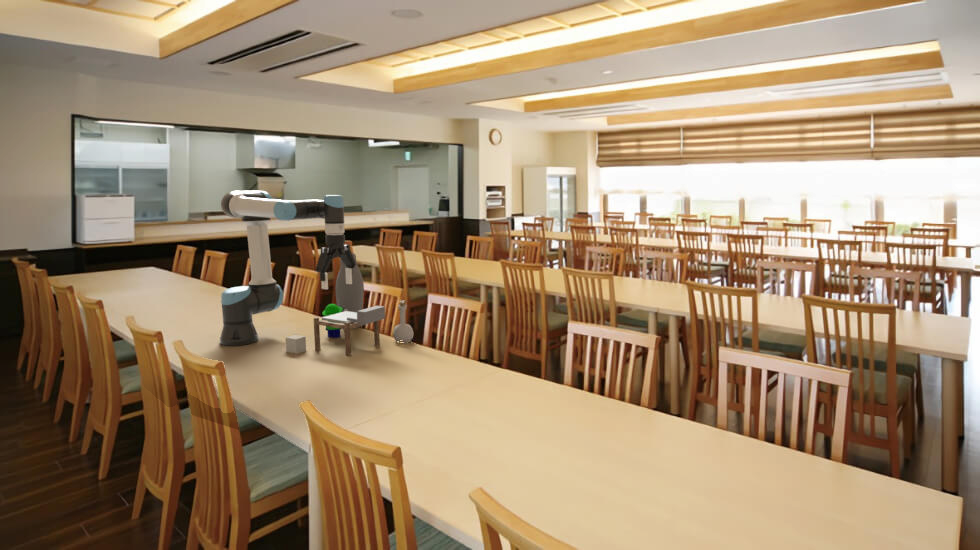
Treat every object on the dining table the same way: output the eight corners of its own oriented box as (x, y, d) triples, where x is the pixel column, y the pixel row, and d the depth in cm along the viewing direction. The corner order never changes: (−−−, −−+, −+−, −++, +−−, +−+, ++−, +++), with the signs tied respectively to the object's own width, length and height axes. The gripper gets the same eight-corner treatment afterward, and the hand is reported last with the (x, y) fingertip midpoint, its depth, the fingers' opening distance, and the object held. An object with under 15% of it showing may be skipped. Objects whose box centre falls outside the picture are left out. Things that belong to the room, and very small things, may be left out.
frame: (315, 350, 238) (313, 318, 236) (347, 339, 253) (345, 309, 251) (348, 356, 228) (347, 323, 226) (379, 345, 244) (378, 314, 242)
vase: (354, 321, 286) (350, 251, 280) (372, 325, 279) (368, 253, 273) (332, 327, 276) (328, 254, 269) (351, 331, 268) (346, 257, 262)
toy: (347, 335, 261) (346, 302, 259) (336, 339, 253) (335, 306, 251) (330, 333, 264) (329, 301, 262) (319, 338, 256) (317, 305, 253)
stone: (286, 351, 236) (285, 337, 235) (295, 348, 240) (295, 334, 239) (296, 353, 233) (295, 339, 232) (306, 350, 237) (305, 336, 236)
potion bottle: (415, 338, 254) (414, 298, 251) (410, 344, 246) (409, 302, 243) (395, 338, 255) (394, 298, 252) (390, 343, 246) (389, 302, 244)
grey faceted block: (321, 319, 237) (321, 306, 236) (346, 313, 248) (345, 300, 248) (363, 326, 225) (362, 312, 225) (386, 319, 237) (386, 306, 236)
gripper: (318, 237, 218) (321, 292, 221) (363, 232, 239) (365, 282, 243) (304, 236, 222) (307, 290, 225) (349, 231, 243) (351, 281, 246)
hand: (337, 286), depth 234 cm, fingers open, 13 cm apart
